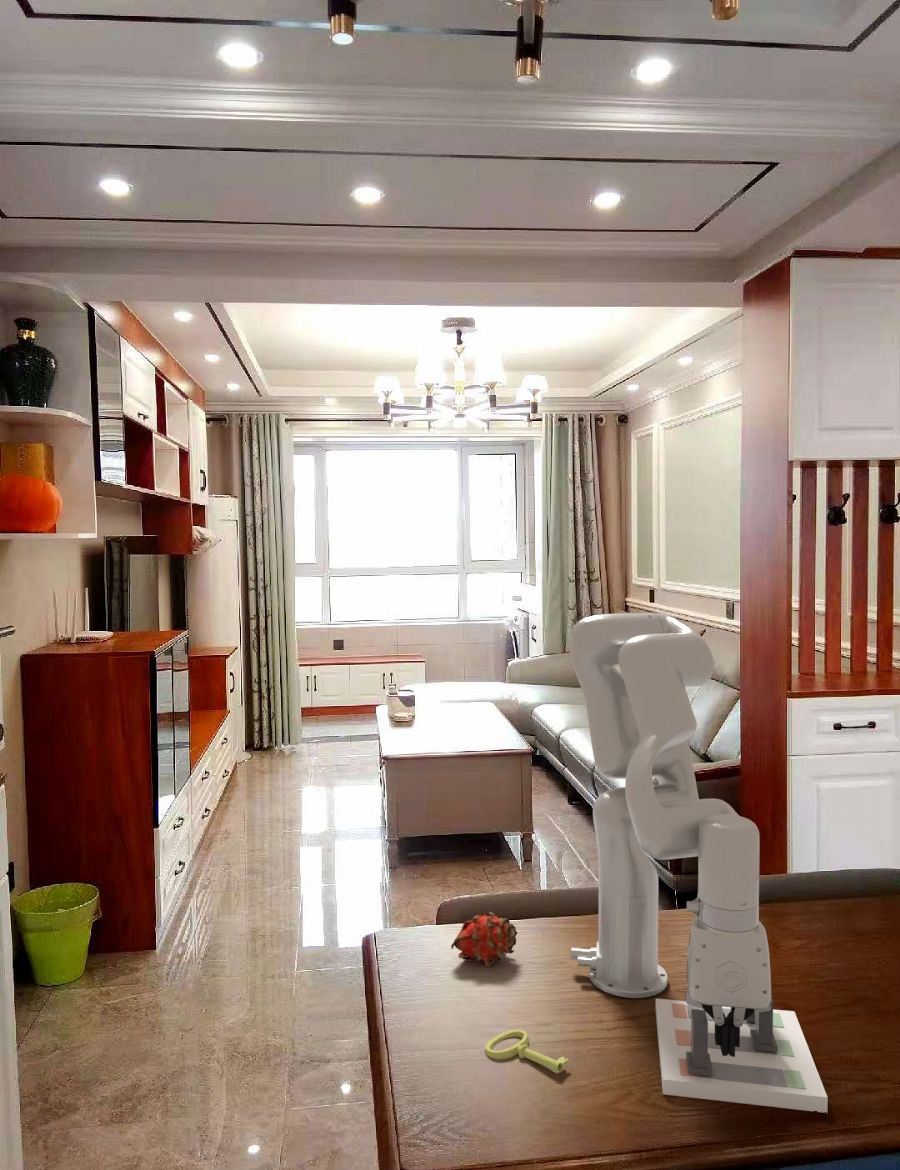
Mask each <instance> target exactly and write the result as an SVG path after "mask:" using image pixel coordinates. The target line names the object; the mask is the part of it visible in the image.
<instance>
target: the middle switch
mask: <svg viewBox="0 0 900 1170" xmlns="http://www.w3.org/2000/svg"><path fill="white" fill-rule="evenodd" d="M770 1005H771V1009H770V1010H769V1011H765V1012H758V1013H756V1012H755V1030H752V1029H750V1037H751V1040H752V1044H753V1047H754V1050H761V1051H771V1052H777V1043H776V1040H775V1037H774V1034H773V1010H774V1000H773V998H772V996H771V1002H770Z"/></svg>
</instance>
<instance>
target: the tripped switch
mask: <svg viewBox="0 0 900 1170" xmlns="http://www.w3.org/2000/svg"><path fill="white" fill-rule="evenodd" d="M686 1060H687V1067H688V1073H689V1074H698V1075H707V1076H712V1065H711V1060H710V1054H708V1021H707V1016H706V1011H705V1010H697V1009H691V1052H688V1051H686Z"/></svg>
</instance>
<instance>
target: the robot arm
mask: <svg viewBox="0 0 900 1170" xmlns="http://www.w3.org/2000/svg"><path fill="white" fill-rule="evenodd" d="M569 653H570V661H571V664H572V668H573V671H574V673H575V676H576V678H577V681H578V683H579V686H580V688H581V690H582V691H581V692H582V694H583V696H584V701H585V706H586V714H587V722H588V729H589V735H590V743H591V749H592V755H593V759H594V764H595V767H596V769H597V771H598V773H599V774H601V776H602V777H605V778H608V779H611V780H612V779H615V780H620V779H621V780H622V779H623V780H624V779H625V781H624V783H625V784H624V785H625V786H624V787H615V788H612V789H608V790H606V791H604V792H602V793H601V794H600V795H599V796H597V798H596V799H595V801H594V803H593V808H592V819H593V820H592V821H593V825H594V832H595V839H596V847H597V856H598V941H596V946H595V947H594V946H590V949H587V948H582V947H571V950H570V952H571V953H570V959H571V960H573V961H577V966H578V967H588V977H589V980H590V982H591V983H592V984H593V985H594V986H595V987H596V988H598V989H599V990H601V991H603V992H604V993H607V994H610V995H612V996H616V997H621V998H624V999H626V998H628V999H644V998H651V997H654V996H656V995H659V994H661V993H662V992H664V991H665V989H666V988H667V986H668V974H667V971H666V970H665V968H663V967H662V966H661V965H660V964H659V875H658V871H657V869H656V866H655V865H654V863H653V862H652V861H651V860H650V858H653V859H656V860H676V859H682V858H683V859H685V858H694V857H698V860H697V861H698V862H697V863H698V868H697V869H698V872H697V873H698V875H697V877H698V879H697V880H698V882H697V884H698V885H697V891H698V892H697V894H696V895H697V896H696V897H697V898H695V899H694V900H691V901H690V900H689V901H688V900H687V901H686V912H687V913H692V914H696V915H695V916H694V917H693V918H692V922H691V926H690V932H689V938H688V947H687V959H686V980H687V987H686V991H685V994H684V1001H686V1003H687V1004H689V1005H692V1006H695V1007H698V1008H703V1009H704V1010H705V1011H706V1012H707V1013H708V1014H709V1015H710V1016H711V1018H712V1019H713V1020H714V1021H715V1044H716V1045H720V1048H721V1052H722V1056H727V1055H728V1053H729V1055H730V1056H731V1057H735V1047H740V1027H741V1026H742V1025H743V1022H744V1021H745V1020H746V1019H747V1018H748V1017H750V1016H751V1015H752V1014H753V1013H754V1012H756V1013H758V1012H765V1011H769V1010H770V1009H771V1005H770V1002H771V997H772V981H771V975H772V974H771V962H770V950H769V942H768V935H767V930H766V927H765V926H764V924H762V922H761V921H760V919H759V917H760V913H759V911H760V906H759V905H760V901H759V899H760V831H759V828H758V826H757V825H756V823H755V822H753V821H752V820H751V819H749V818H746V817H743V816H740V815H739V814H738V813H737V811H735V809H734V808H733V807H732V806H731V805H730V804H729V803H727V802H726V801H724V800H723V799H720V798H701V799H700V798H699V793H698V785H697V781H696V775H695V770H694V765H693V759H692V752H691V749H690V748H691V747H690V744H689V740H688V739H690V738H691V737H692V736H693V735H694V734H695V732H696V731H697V727H698V725H697V724H698V723H697V719H696V717H695V714H694V711H693V708H692V704H691V701H690V698H689V696H688V695H689V694H688V693H687V689H686V688H689V687H691V688H692V687H702V686H704V685H706V684H708V682H710V680H711V679H712V676H713V674H714V668H715V665H714V664H715V662H714V657H713V653H712V650H711V648H710V646H709V644H708V643H707V641H706V640H705V638H703V636H702V635H701V634H700V633H698V632H697V631H696V630H694V629H693V628H692V627H690V626H688V625H686V624H684V623H683V622H682V621H681V620H678V619H677V618H675V617H674V616H672V615H669V614H666V613H660V612H659V613H658V612H646V613H644V612H643V613H642V612H641V613H638V612H637V613H603V614H595V615H591V616H586V617H584V618H581V619H580V620H578V621H577V622H576V623H575V625H574V626H573V628H572V630H571V632H570V639H569ZM615 665H618V666H619V668H620V671H619V670H618V669H617V668H616V667H614V666H615ZM653 777H655V778H656V779H657V782H658V784H654V782H653ZM648 856H649V857H650V858H649V857H648ZM722 1006H724V1007H731V1009H730V1013H728V1014H727V1016H726V1017H725V1014H724V1012H723V1010H722Z"/></svg>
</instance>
